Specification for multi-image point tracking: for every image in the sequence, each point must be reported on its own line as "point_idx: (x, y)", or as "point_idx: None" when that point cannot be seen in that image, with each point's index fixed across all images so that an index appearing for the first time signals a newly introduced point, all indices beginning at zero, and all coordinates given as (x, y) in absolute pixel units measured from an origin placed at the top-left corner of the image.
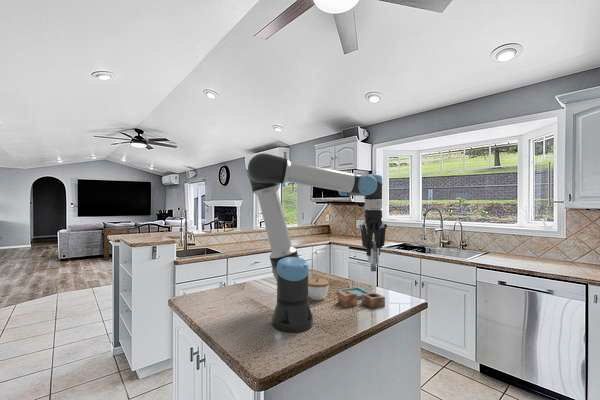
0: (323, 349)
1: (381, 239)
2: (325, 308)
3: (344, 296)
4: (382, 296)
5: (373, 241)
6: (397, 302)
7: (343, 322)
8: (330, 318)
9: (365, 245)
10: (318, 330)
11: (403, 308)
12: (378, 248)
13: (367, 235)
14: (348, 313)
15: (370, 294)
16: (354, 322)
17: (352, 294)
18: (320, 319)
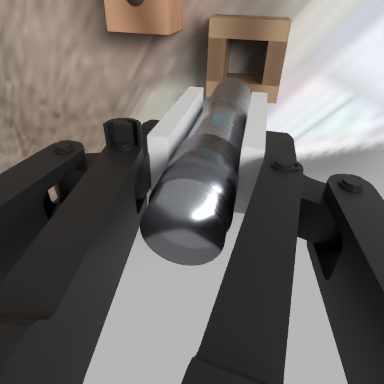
0: None
1: (334, 291)
2: (52, 3)
3: (109, 23)
4: (271, 93)
5: (162, 250)
6: (363, 81)
7: (76, 133)
8: (50, 94)
9: (58, 207)
10: (9, 140)
11: (317, 140)
12: (245, 211)
13: (29, 264)
14: (114, 86)
15: (246, 39)
16: (104, 146)
17: (146, 29)
18: (21, 86)
